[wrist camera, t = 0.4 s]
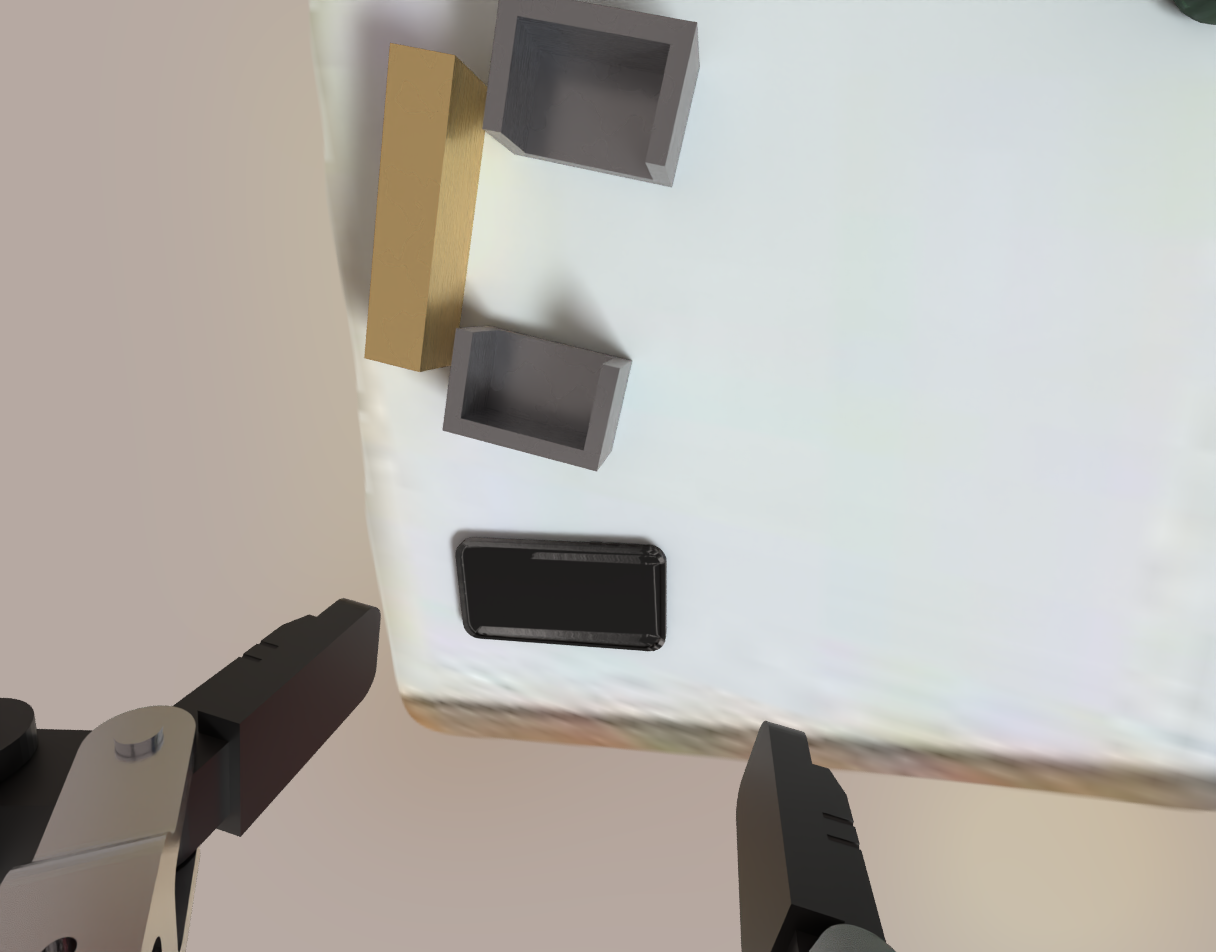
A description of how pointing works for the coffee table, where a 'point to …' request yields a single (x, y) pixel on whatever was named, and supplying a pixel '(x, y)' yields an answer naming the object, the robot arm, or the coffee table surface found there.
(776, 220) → the coffee table surface
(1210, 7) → the coffee jar
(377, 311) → the link bar
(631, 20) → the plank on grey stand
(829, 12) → the coffee table surface
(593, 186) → the coffee table surface
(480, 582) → the phone
